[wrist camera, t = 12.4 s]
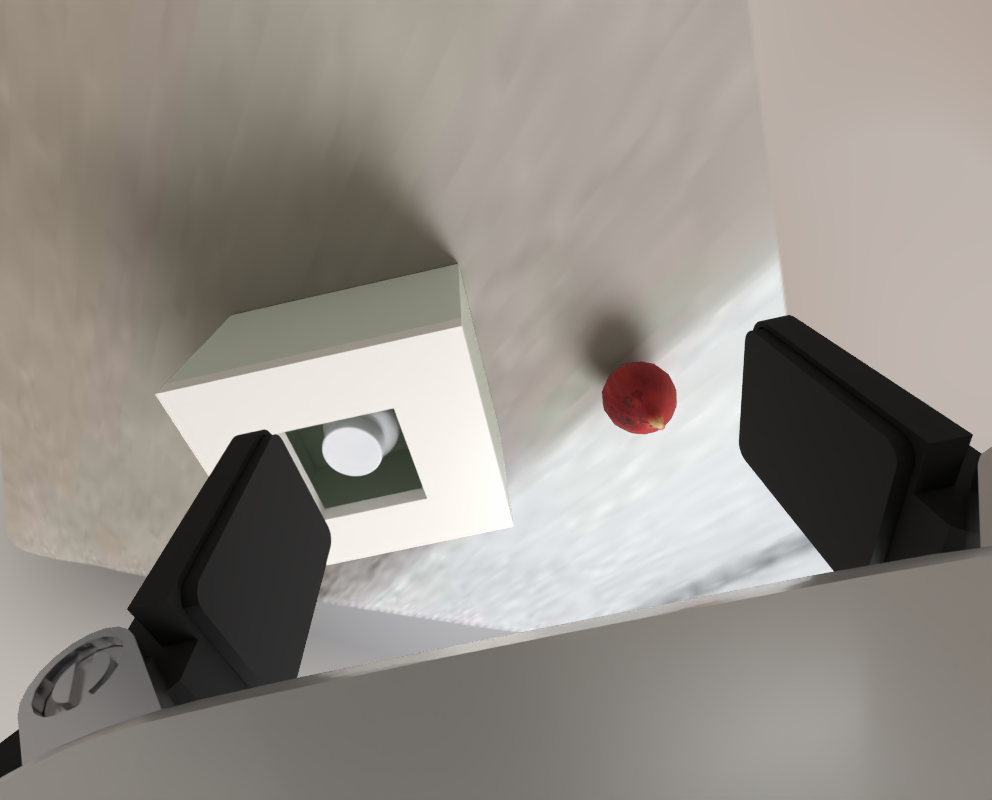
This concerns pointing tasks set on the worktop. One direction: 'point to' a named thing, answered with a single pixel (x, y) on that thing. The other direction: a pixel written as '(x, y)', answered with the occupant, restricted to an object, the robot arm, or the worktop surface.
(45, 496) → the worktop surface
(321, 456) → the caddy
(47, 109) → the worktop surface
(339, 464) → the supplement bottle
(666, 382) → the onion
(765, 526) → the worktop surface
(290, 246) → the worktop surface
